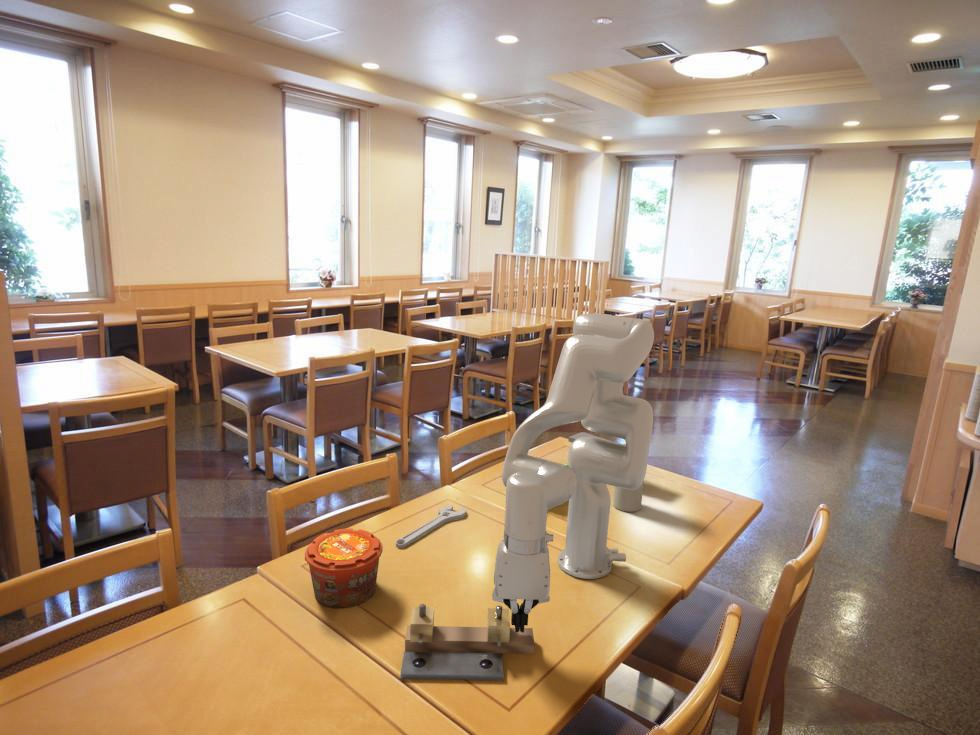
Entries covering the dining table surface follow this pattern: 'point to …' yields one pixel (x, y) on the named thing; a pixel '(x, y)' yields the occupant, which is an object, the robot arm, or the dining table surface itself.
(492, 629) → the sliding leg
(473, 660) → the flange plate
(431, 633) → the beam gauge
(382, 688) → the dining table surface
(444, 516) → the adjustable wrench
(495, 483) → the dining table surface
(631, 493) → the travel mug
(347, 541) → the food container
